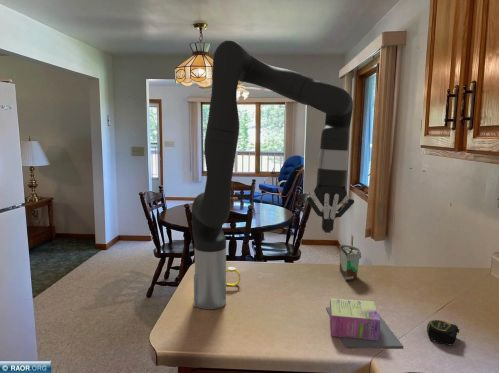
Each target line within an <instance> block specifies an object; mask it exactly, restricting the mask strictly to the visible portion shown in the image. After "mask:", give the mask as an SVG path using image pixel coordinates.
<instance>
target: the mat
mask: <svg viewBox="0 0 499 373" xmlns="http://www.w3.org/2000/svg"><path fill="white" fill-rule="evenodd" d="M325 309H326V311H327V314H328V315H329V312H330V306H328V307H325ZM378 316H379V318H380V336H379V341H375V340H366V339H357V338H347V337H339V338H340V340H341V341H342V343H343V346H344V347H345V349H347V348H348V349H352V348H353V349H365V348H369V349H370V348H371V349H372V348H373V349H375V348H379V349H380V348H381V349H382V348H390V349H391V348H404V345H403V344H402V342H401V341H400V339H398V338H397V336H396V335H395V334H394V332H393V331H392V330H391V328H390V327H389V325H388V324H387V323H386V322H385V321H384V319H383V318H382V316H381V315H380V314H379V313H378Z"/></svg>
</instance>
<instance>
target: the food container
mask: <svg viewBox="0 0 499 373" xmlns="http://www.w3.org/2000/svg"><path fill="white" fill-rule="evenodd" d="M360 259H362V252H361V250H360V249H359V248H358V247H356V246H352V245H348V244H339V274H341V276H342V278H343V280H344V281H345V282H353V281H356V280H357V277H358V273H359V272H358V270H359V262H360Z"/></svg>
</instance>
